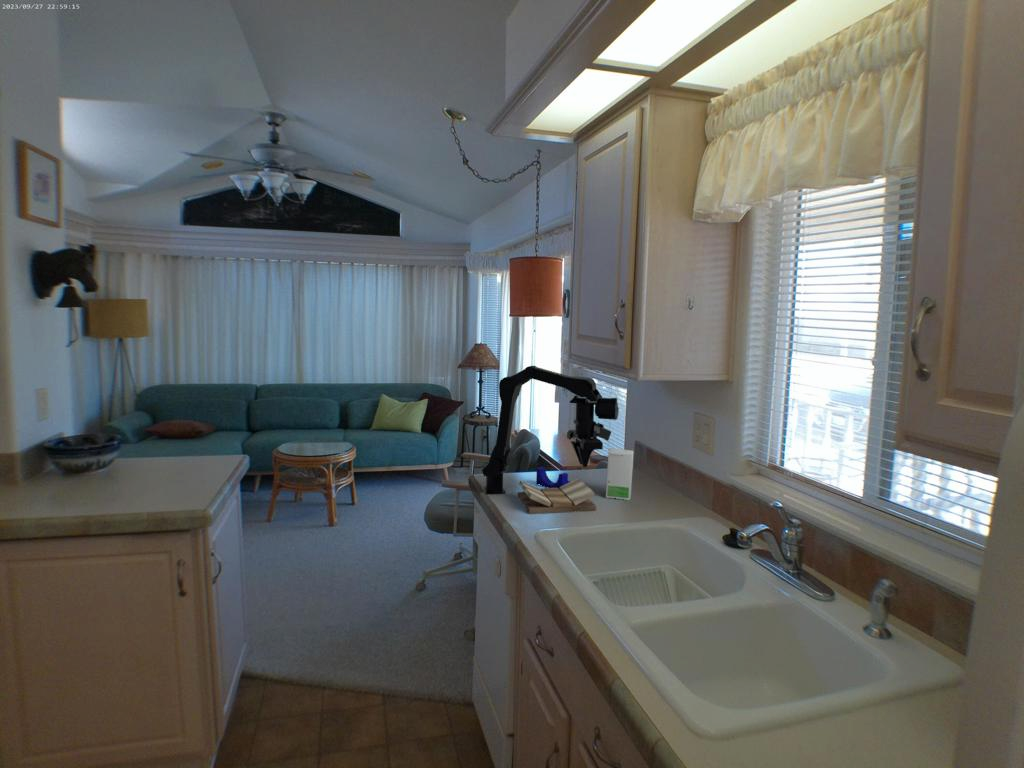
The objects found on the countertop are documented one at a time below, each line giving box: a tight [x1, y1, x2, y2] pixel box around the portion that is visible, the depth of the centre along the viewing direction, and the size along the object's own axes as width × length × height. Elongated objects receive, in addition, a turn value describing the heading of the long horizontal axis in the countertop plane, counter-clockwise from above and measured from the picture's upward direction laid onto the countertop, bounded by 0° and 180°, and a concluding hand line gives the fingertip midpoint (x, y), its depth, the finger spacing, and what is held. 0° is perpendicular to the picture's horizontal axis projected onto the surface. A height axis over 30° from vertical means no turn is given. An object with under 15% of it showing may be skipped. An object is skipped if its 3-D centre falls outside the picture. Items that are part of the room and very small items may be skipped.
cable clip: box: [535, 466, 572, 489], centre depth 211 cm, size 12×4×6 cm, turn 44°
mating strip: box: [539, 487, 572, 507], centre depth 193 cm, size 16×6×1 cm, turn 11°
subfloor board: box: [516, 491, 597, 515], centre depth 193 cm, size 18×21×2 cm
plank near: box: [518, 480, 551, 507], centre depth 191 cm, size 16×7×1 cm, turn 11°
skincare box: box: [605, 447, 634, 501], centre depth 200 cm, size 8×7×16 cm
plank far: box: [559, 478, 595, 505], centre depth 194 cm, size 16×7×1 cm, turn 11°
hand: (583, 465), depth 193 cm, fingers open, 3 cm apart
